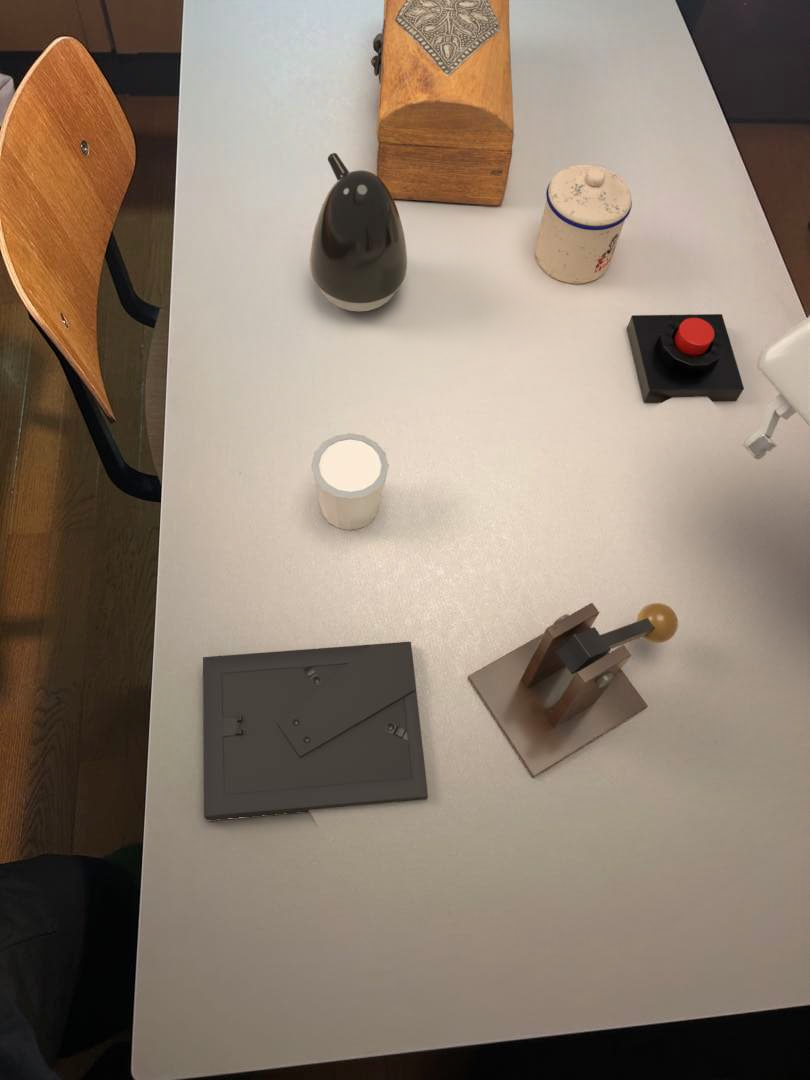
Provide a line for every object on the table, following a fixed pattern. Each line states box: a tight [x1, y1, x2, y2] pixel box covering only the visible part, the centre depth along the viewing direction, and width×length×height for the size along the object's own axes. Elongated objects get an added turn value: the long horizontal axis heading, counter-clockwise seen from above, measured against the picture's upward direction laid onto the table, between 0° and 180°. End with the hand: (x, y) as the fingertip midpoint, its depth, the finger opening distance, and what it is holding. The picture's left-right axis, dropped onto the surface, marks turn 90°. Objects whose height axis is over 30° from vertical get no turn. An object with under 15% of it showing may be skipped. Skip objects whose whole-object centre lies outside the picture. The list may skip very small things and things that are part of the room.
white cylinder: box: [311, 433, 389, 531], centre depth 86 cm, size 7×7×7 cm
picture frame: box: [202, 641, 429, 821], centre depth 78 cm, size 13×2×18 cm
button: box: [674, 318, 714, 356], centre depth 96 cm, size 4×4×2 cm
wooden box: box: [370, 0, 515, 206], centre depth 110 cm, size 30×16×14 cm, turn 178°
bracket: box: [467, 602, 648, 779], centre depth 76 cm, size 12×10×13 cm
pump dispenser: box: [309, 152, 408, 312], centre depth 95 cm, size 10×10×15 cm
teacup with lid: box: [534, 164, 633, 285], centre depth 102 cm, size 12×9×12 cm
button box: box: [626, 313, 745, 404], centre depth 98 cm, size 10×10×4 cm
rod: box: [556, 602, 679, 674], centre depth 75 cm, size 14×3×3 cm, turn 121°
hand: (788, 497), depth 72 cm, fingers open, 8 cm apart
